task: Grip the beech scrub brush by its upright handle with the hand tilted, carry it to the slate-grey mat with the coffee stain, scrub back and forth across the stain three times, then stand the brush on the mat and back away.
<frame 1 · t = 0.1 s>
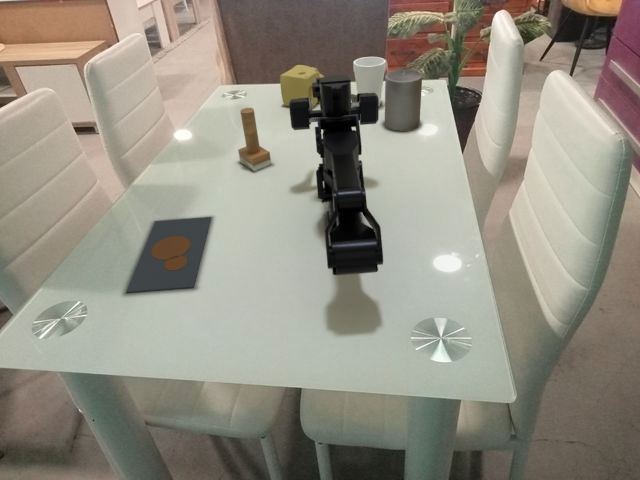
hand: (331, 97, 108), 17 cm above the table, tool horizontal, fingers open, 9 cm apart
pillar candle: (401, 124, 134), on the table
scrub brush: (255, 163, 121), on the table
stain mat: (172, 251, 94), on the table
cheese: (304, 103, 152), on the table
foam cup: (369, 105, 147), on the table
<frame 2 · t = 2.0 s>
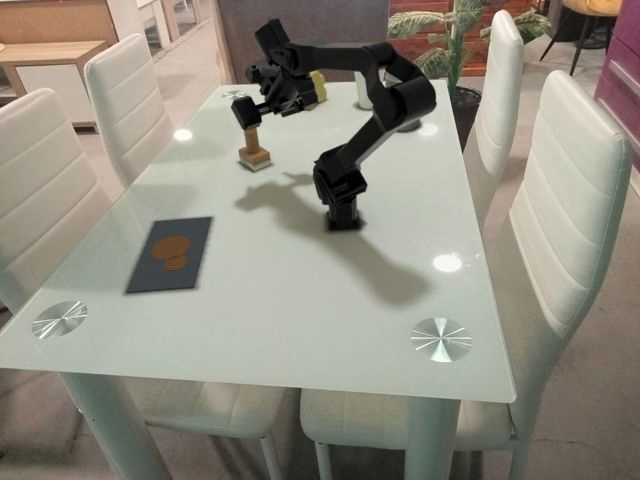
hand: (265, 121, 108), 14 cm above the table, tool tilted 45°, fingers open, 9 cm apart
nothing on the table moved.
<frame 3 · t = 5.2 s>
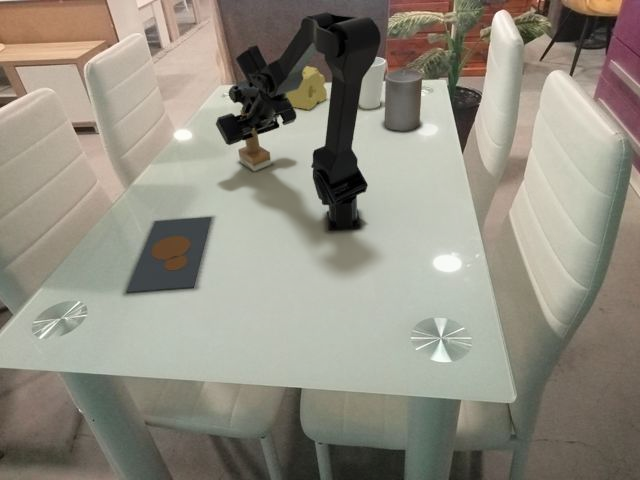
hand: (248, 135, 118), 7 cm above the table, tool tilted 45°, fingers closed on scrub brush, 3 cm apart
scrub brush: (255, 163, 121), on the table, touching gripper
everything else where it was.
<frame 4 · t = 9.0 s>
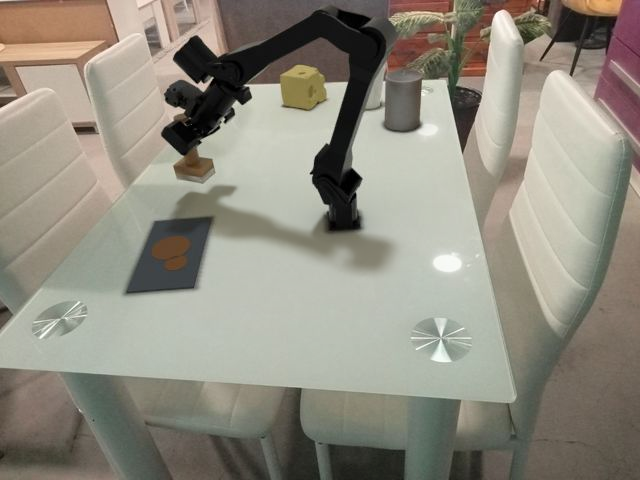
hand: (183, 146, 103), 12 cm above the table, tool tilted 45°, fingers closed on scrub brush, 3 cm apart
scrub brush: (196, 176, 107), point 5 cm above the table, touching gripper
everything else where it was.
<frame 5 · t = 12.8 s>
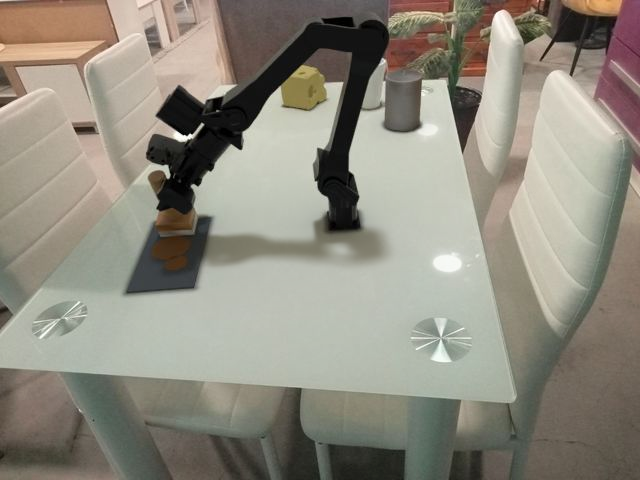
hand: (160, 204, 93), 8 cm above the table, tool tilted 45°, fingers closed on scrub brush, 3 cm apart
scrub brush: (179, 226, 99), point 1 cm above the table, tilted 12°, touching gripper, stain mat
everything else where it was.
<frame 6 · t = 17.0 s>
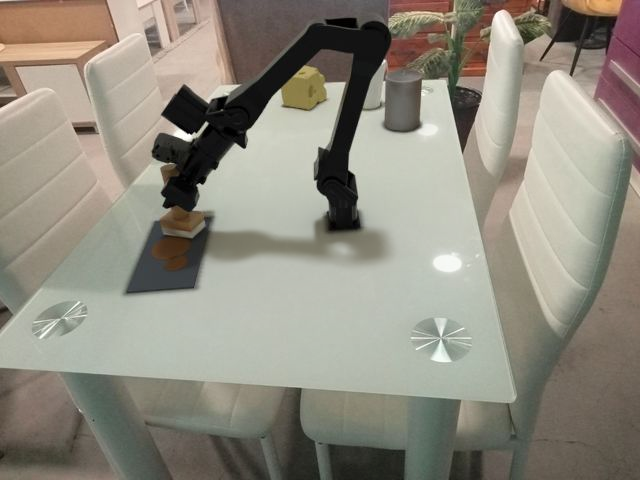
hand: (166, 202, 95), 7 cm above the table, tool tilted 45°, fingers closed on scrub brush, 3 cm apart
scrub brush: (184, 230, 98), point 1 cm above the table, tilted 5°, touching gripper, stain mat
everything else where it was.
when the fingers open (7 cm above the table, at t = 20.7 s): scrub brush stays where it is, resting on stain mat.
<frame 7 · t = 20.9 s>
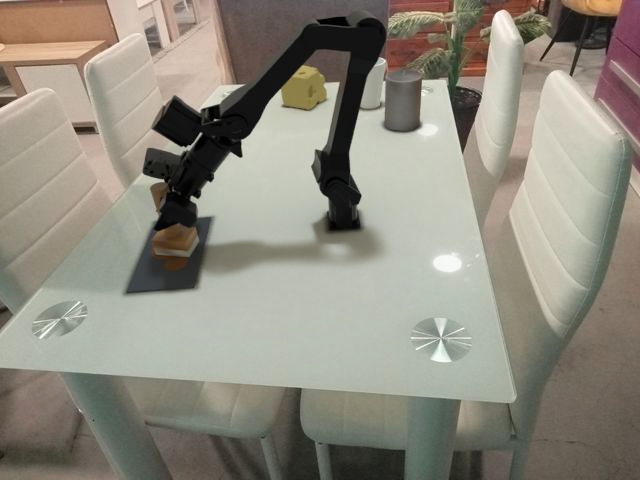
hand: (157, 221, 90), 7 cm above the table, tool tilted 45°, fingers open, 6 cm apart
scrub brush: (178, 247, 94), resting on stain mat
everything else where it was.
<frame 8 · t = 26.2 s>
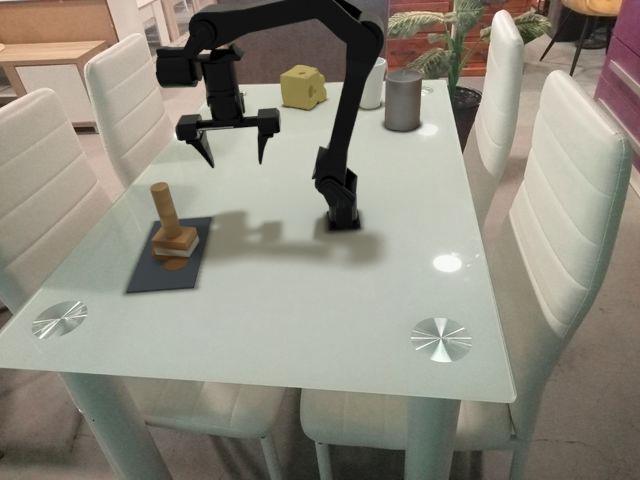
hand: (237, 165, 93), 13 cm above the table, tool pointing down, fingers open, 9 cm apart
nothing on the table moved.
at the end: scrub brush inside the target area on the stain mat (1.2 cm from its centre), point 0.4 cm above the stain mat's base; scrub brush tilted 0°; scrub brush moved 36.3 cm from its start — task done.
